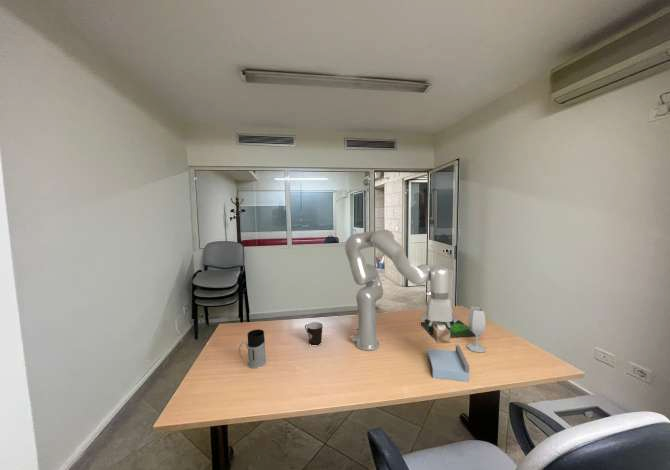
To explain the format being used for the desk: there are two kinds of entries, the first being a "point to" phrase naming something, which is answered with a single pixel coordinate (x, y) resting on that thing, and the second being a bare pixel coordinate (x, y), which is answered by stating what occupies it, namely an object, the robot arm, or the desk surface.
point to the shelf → (449, 364)
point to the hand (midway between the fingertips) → (439, 333)
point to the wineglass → (476, 327)
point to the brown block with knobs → (440, 332)
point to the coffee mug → (314, 332)
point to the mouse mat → (454, 329)
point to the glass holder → (255, 348)
